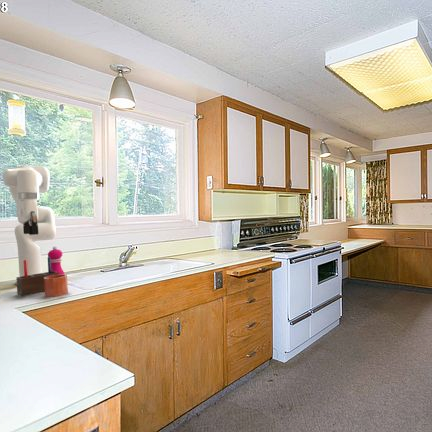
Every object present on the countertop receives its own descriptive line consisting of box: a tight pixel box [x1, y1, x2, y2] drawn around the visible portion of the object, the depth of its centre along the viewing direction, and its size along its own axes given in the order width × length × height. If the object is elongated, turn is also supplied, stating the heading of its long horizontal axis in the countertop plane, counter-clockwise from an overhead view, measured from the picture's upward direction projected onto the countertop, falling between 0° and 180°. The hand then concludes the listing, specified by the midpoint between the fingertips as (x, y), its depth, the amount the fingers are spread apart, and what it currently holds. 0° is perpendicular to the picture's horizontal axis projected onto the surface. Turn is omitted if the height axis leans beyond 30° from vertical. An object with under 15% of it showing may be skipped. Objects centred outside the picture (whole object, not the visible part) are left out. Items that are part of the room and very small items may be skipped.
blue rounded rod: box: [47, 256, 51, 274], centre depth 151 cm, size 3×1×16 cm, turn 57°
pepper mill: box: [47, 246, 66, 274], centre depth 162 cm, size 7×7×20 cm
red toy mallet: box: [24, 260, 28, 278], centre depth 143 cm, size 3×1×16 cm, turn 57°
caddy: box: [15, 271, 59, 297], centre depth 147 cm, size 5×15×9 cm, turn 148°
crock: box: [44, 273, 69, 298], centre depth 142 cm, size 8×8×9 cm
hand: (30, 234), depth 146 cm, fingers open, 9 cm apart
